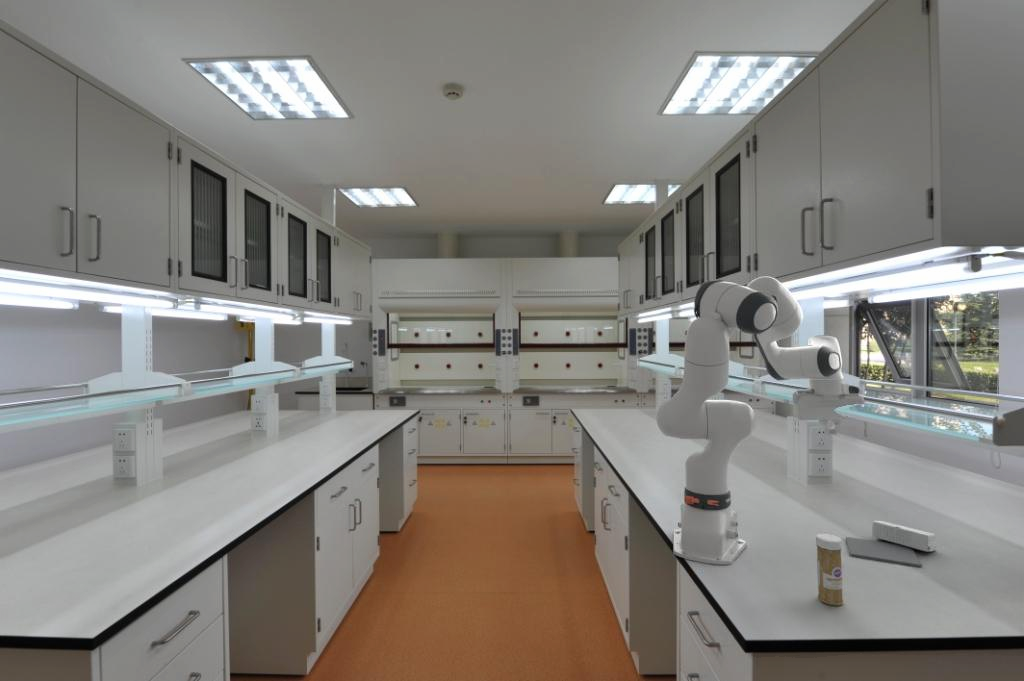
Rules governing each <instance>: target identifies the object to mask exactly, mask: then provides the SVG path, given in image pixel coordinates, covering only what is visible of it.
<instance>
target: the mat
mask: <svg viewBox="0 0 1024 681" xmlns="http://www.w3.org/2000/svg"><path fill="white" fill-rule="evenodd" d="M845 541H846V544H847V545H846V546H847V548H848V551H849V555H850V557H853V556H855V558H860V559H861V558H862V559H867V560H873V561H879V562H885V563H892V564H899V565H905V566H911V567H917V568H923V564H922V562H921V561H920V560H919V557H918V556H917V554H916V552H915V551H914V548H911V547H908V546H904V545H901V544H897V543H893V542H887V541H886V542H884V541H878V540H871V539H870V540H869V539H865V538H858V537H857V538H856V537H850V536H845Z"/></svg>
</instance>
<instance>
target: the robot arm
mask: <svg viewBox="0 0 1024 681" xmlns="http://www.w3.org/2000/svg"><path fill="white" fill-rule="evenodd" d="M693 303H694V304H693V306H694V308H693V312H694V313H693V314H694V317H695V319H693V320H692V321H691V322H690V323H689V324H688V327H687V331H686V336H685V344H684V356H683V357H684V358H683V359H684V360H683V361H684V364H683V377H682V381H681V385H680V387H679V389H678V390H677V392H675V394H674V395H673V396H672V397H671V398H669V399H668V400H666V401H664V402H663V403H662V404H660V406H659V408H658V409H657V413H656V423H657V427H658V429H659V431H660V432H661V433H662V435H664V436H666V437H671V438H674V439H675V438H676V439H679V440H706V441H707V443H706V446H705V447H704V448H702V449H700V450H698V451H696V452H694V453H692V454H690V455H689V457H688V458H687V459H686V461H685V465H684V466H685V486H684V491H683V497H684V503H682V504H681V505H680V522H678V523H677V527H678V528H679V529H673V537H672V538H673V540H672V542H673V543H672V547H673V549H672V552H673V555H675V556H678V557H679V558H682V559H686V560H690V561H694V562H699V563H704V564H712V565H731V564H732V563H733V562H734V561H735V560H736V559H737V557H738V556H739V555H740V554H741V553H742V551H743V550H744V549H745V548H746V547H747V543H746V540H744V539H742V538H740V536H739V535H740V534H739V523H738V522H739V521H738V520H739V519H738V513H737V512H736V511H735V510H734V508H732V506H731V504H732V495H731V491H730V489H729V474H730V473H729V472H730V463H731V459H732V457H733V454H734V453H735V451H736V450H737V448H738V447H739V446H740V445H741V444H742V443H743V442H744V441H746V440H747V439H748V438H750V437H751V436H752V435H753V433H754V432H755V430H756V427H757V417H756V414H755V411H754V410H753V408H752V407H751V406H750V405H749V404H748V403H747V402H741V401H738V400H730V399H710V398H711V397H714V396H715V395H718V394H719V393H721V392H723V391H724V390H725V388H726V387H727V385H728V384H729V374H730V371H729V370H730V341H729V340H730V336H731V334H732V332H733V330H737V331H741V332H742V333H745V334H749V335H752V336H753V338H754V341H755V343H756V344H755V345H756V346H757V348H758V350H759V352H760V354H761V357H762V359H763V362H764V365H765V368H766V372H767V373H768V375H769V376H770V377H772V379H774V380H776V381H789V380H802V379H803V380H804V379H805V380H807V379H808V380H809V381H808V382H809V389H797V390H795V391H794V392H793V393H792V402H793V403H792V416H793V419H795V420H796V421H818V422H819V425H820V426H821V427H822V429H823V434H824V435H825V436H837V435H838V428H839V427H840V425H841V420H853V419H852V418H847V417H848V416H846V417H843V416H841V414H838V413H836V411H834V410H835V409H836V408H838V407H842V406H846V405H854V404H865V405H866V402H865V399H864V397H863V396H862V394H863V388H862V387H860V386H858V385H854V384H850V383H847V382H845V380H844V376H843V374H842V367H843V359H842V353H841V348H840V344H839V341H838V339H837V337H834V336H832V335H814V336H811V337H809V338H808V340H807V341H808V342H807V346H797V347H796V346H793V347H780V346H779V345H778V343H777V341H780V340H785V339H787V338H789V337H790V336H792V335H794V333H796V332H797V331H798V329H800V327H801V325H802V324H803V319H804V313H803V310H802V307H801V305H800V304H799V302H798V300H797V299H796V298H795V297H794V295H793V294H792V292H790V290H789V289H788V287H786V286H785V285H784V284H783V283H781V282H780V280H778V279H776V278H775V277H773V276H766V275H765V276H760V277H757V278H755V279H753V280H751V281H750V282H749V283H747V285H746V286H745V285H742V284H739V283H734V282H730V281H729V282H728V281H725V280H721V279H711V280H707V281H705V282H703V283H702V284H701V285H700V286H699V288H698V290H697V292H696V293H695V298H694V302H693ZM830 420H831V423H832V425H831V428H830V427H829V426H828V424H829V421H830Z"/></svg>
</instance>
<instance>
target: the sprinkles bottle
mask: <svg viewBox="0 0 1024 681" xmlns="http://www.w3.org/2000/svg"><path fill="white" fill-rule="evenodd" d="M842 544H843V543H842V539H841V538H840V537H839V536H838V535H837V536H836V535H832V534H829V533H818V534H816V536H815V545H816V555H817V556H816V570H817V571H816V572H817V585H818V594H817V598H818V600H819V601H821V602H822V603H824V604H826V605H829V606H836V607H837V606H842V605H843V603H844V600H843V570H842V567H843V566H842V553H841V552H842V548H843V547H842V546H843V545H842Z"/></svg>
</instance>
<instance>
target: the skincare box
mask: <svg viewBox="0 0 1024 681" xmlns="http://www.w3.org/2000/svg"><path fill="white" fill-rule="evenodd" d="M871 528H872V531H871V532H872V533H871V534H872V538H876V539H880V540H883V541H886V542H889V543H893V544H900V545H904V546H908V547H911V548H912V549H915V550H919V551H923V552H927V553H928V552H934V551H936V550H937V535H936V533H931V532H928V531H924V530H919V529H916V528H912V527H908V526H903V525H899V524H895V523H891V522H888V521H883V520H874V521H872V527H871Z"/></svg>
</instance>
